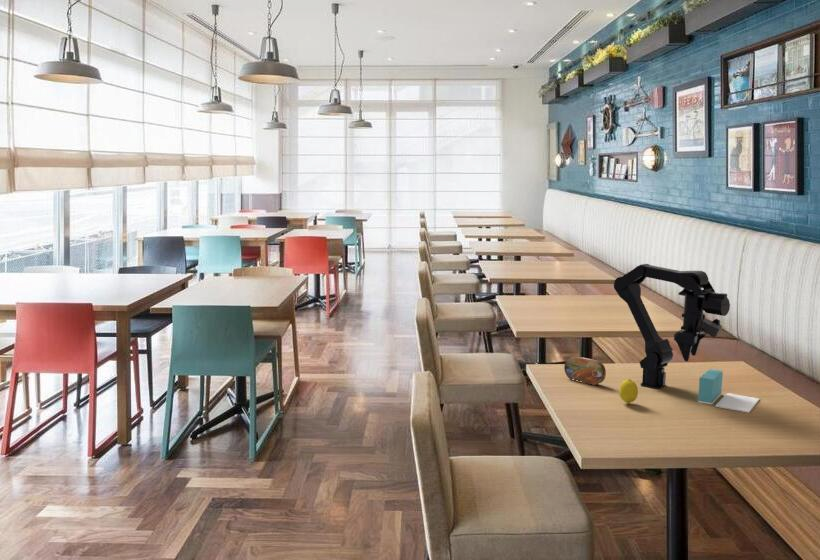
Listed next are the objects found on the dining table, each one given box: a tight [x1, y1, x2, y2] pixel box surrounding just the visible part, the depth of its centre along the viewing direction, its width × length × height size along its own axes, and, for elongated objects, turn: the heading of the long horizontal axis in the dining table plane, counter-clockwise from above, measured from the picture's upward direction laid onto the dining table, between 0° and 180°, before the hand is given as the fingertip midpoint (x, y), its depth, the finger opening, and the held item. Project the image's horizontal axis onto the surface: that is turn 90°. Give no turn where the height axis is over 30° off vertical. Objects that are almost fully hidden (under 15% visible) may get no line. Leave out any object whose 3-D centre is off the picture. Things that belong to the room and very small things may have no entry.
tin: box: [563, 355, 607, 386], centre depth 244 cm, size 15×3×8 cm, turn 44°
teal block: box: [697, 368, 724, 405], centre depth 227 cm, size 4×12×8 cm, turn 144°
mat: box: [715, 392, 760, 414], centre depth 223 cm, size 10×15×1 cm, turn 144°
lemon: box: [618, 378, 639, 405], centre depth 221 cm, size 6×6×8 cm
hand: (690, 358), depth 230 cm, fingers open, 8 cm apart
